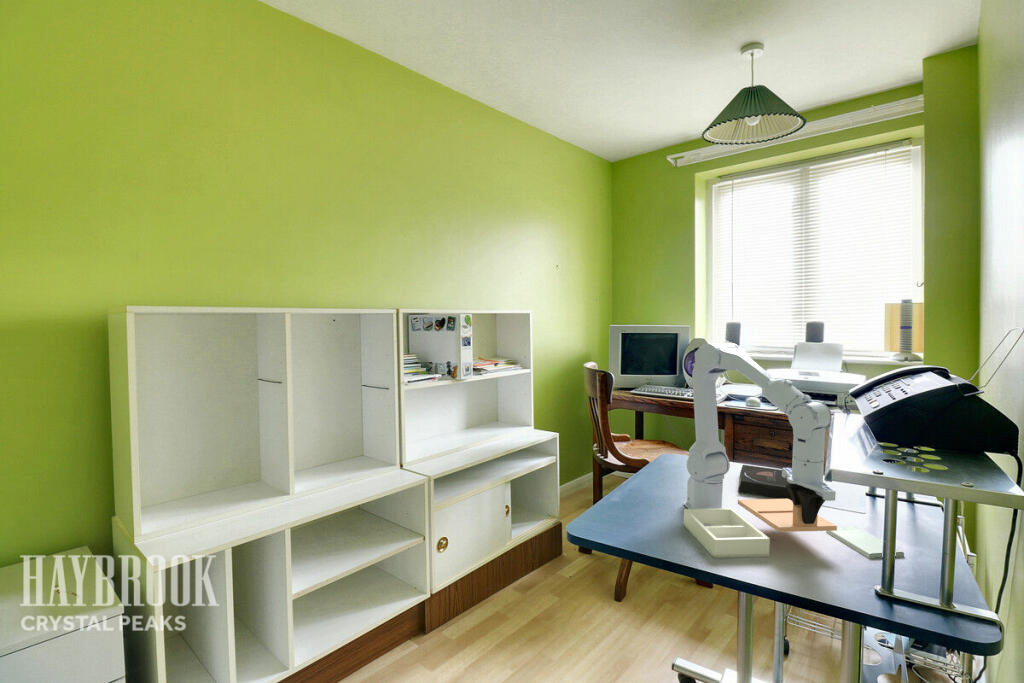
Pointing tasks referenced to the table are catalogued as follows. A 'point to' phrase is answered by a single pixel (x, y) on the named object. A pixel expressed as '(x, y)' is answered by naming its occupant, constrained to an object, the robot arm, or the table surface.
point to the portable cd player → (763, 482)
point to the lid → (784, 515)
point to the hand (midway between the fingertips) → (805, 520)
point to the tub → (726, 533)
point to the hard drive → (861, 541)
